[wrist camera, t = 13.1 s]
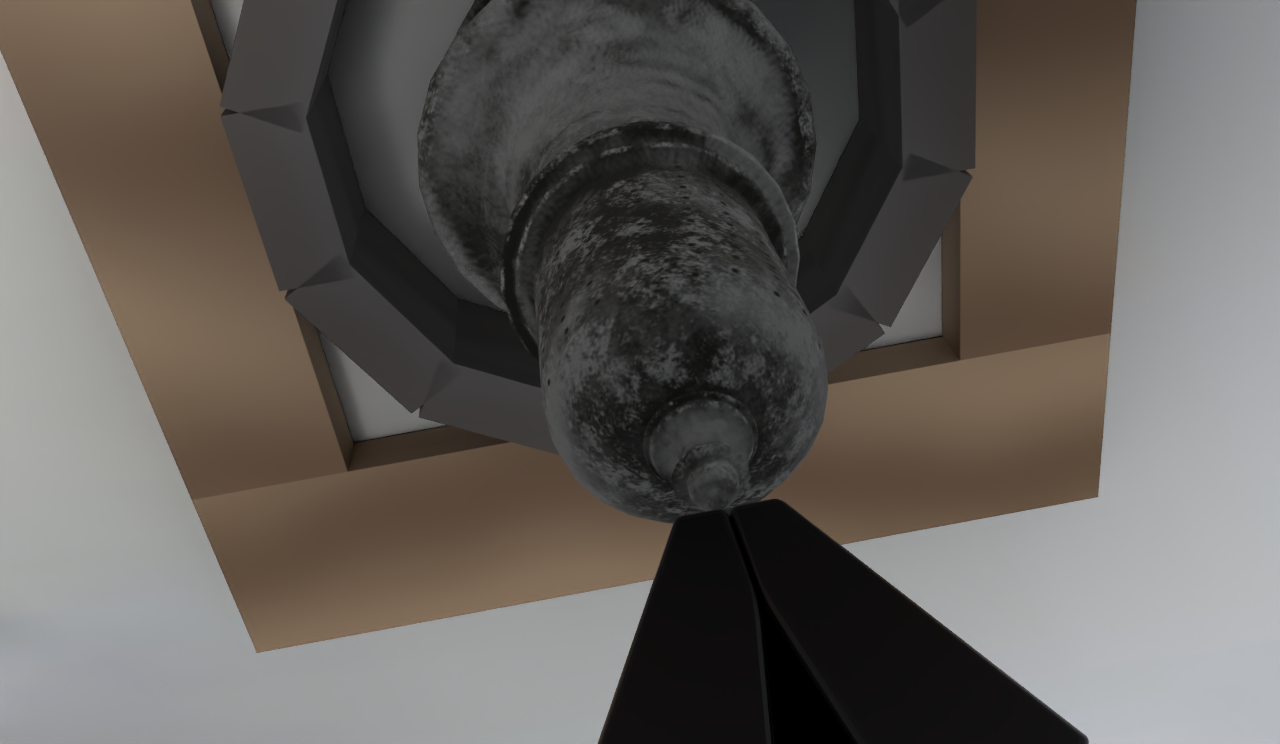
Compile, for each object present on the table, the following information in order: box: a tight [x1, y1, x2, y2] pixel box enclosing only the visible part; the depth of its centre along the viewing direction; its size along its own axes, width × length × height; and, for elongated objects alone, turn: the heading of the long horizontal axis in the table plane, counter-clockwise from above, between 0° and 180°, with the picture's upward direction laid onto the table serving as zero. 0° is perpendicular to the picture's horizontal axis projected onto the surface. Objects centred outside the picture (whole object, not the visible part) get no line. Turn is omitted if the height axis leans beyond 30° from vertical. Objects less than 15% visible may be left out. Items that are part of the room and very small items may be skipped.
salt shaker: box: [417, 0, 828, 524], centre depth 15 cm, size 6×6×12 cm
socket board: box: [0, 0, 1137, 653], centre depth 19 cm, size 20×18×2 cm
